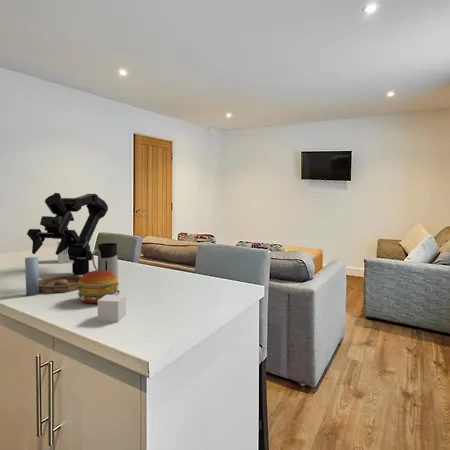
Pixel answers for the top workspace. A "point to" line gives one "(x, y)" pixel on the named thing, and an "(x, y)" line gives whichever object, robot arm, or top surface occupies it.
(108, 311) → the white cube
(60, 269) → the top surface
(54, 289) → the tray
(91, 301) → the burger
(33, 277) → the peg
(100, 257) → the grey jug
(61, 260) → the ink box
